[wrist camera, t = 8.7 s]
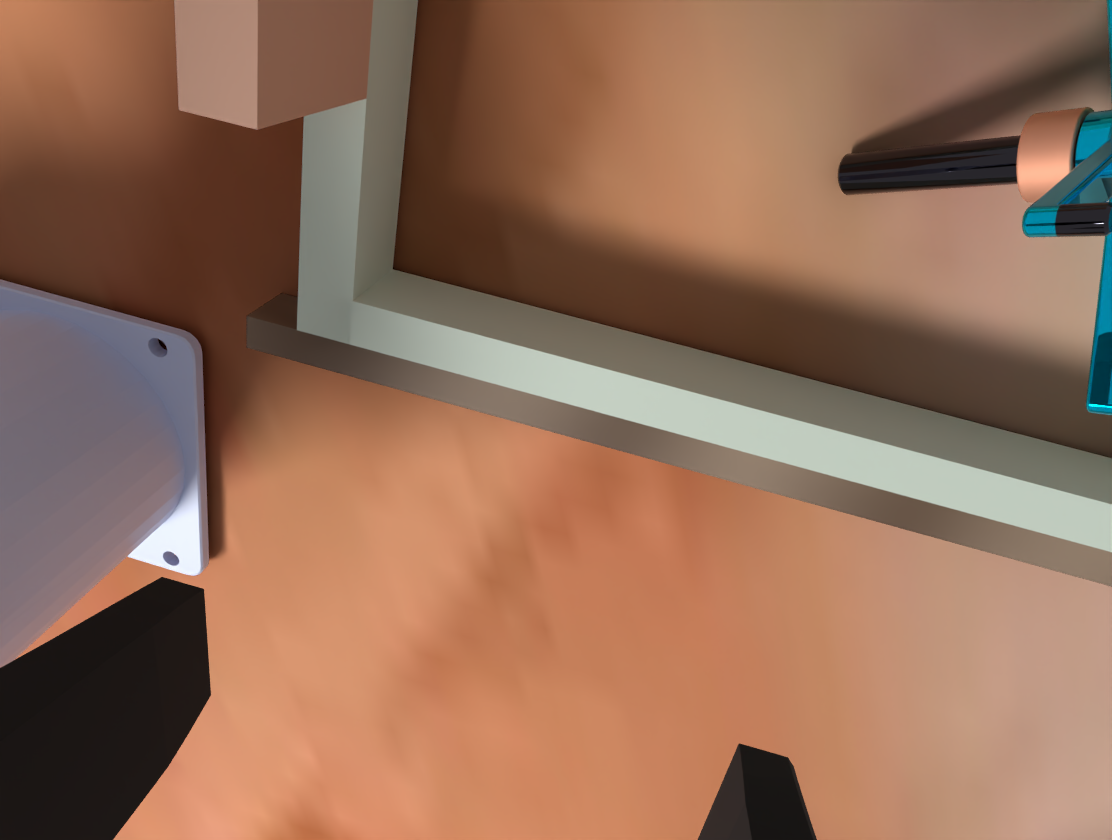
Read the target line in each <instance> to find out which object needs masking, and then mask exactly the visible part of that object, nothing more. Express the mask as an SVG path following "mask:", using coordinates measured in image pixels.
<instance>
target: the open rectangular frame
mask: <svg viewBox="0 0 1112 840" xmlns="http://www.w3.org/2000/svg"><path fill="white" fill-rule="evenodd" d="M417 6H418V0H174V9H175V33H176V57H177V81H178V105H179V110H180V111H184V112H188V113H192V114H196V115H200V116H204V117H208V118H212V119H216V120H220V121H224V122H228V123H232V124H236V125H240V126H244V127H248V128H252V129H256V130H258V129H262V128H265V127H269V126H272V125H276V124H279V123H283V122H286V121H290V120H293V119H297V118H300V117H304V124H303V155H302V186H301V216H300V247H299V278H298V308H297V330H299V331H302V332H306V333H310V334H313V335H317V336H321V337H324V338H328V339H332V340H335V341H339V342H343V343H346V344H350V345H354V346H357V347H361V348H365V349H368V350H372V351H376V352H379V353H383V354H387V355H390V356H394V357H398V358H401V359H405V360H409V361H412V362H416V363H420V364H423V365H427V366H431V367H434V368H438V369H442V370H445V371H449V372H453V373H456V374H460V375H464V376H467V377H471V378H475V379H478V380H482V381H486V382H489V383H493V384H497V385H500V386H504V387H508V388H511V389H515V390H519V391H522V392H526V393H530V394H533V395H537V396H541V397H544V398H548V399H552V400H555V401H559V402H563V403H566V404H570V405H574V406H577V407H581V408H585V409H588V410H592V411H596V412H599V413H603V414H607V415H610V416H614V417H618V418H621V419H625V420H629V421H632V422H636V423H640V424H643V425H647V426H651V427H654V428H658V429H662V430H665V431H669V432H673V433H676V434H680V435H684V436H687V437H691V438H695V439H698V440H702V441H706V442H709V443H713V444H717V445H720V446H724V447H728V448H731V449H735V450H739V451H742V452H746V453H750V454H753V455H757V456H761V457H764V458H768V459H772V460H775V461H779V462H783V463H786V464H790V465H794V466H797V467H801V468H805V469H808V470H812V471H816V472H819V473H823V474H827V475H830V476H834V477H838V478H841V479H845V480H849V481H852V482H856V483H860V484H863V485H867V486H871V487H874V488H878V489H882V490H885V491H889V492H893V493H896V494H900V495H904V496H907V497H911V498H915V499H918V500H922V501H926V502H929V503H933V504H937V505H940V506H944V507H948V508H951V509H955V510H959V511H962V512H966V513H970V514H973V515H977V516H981V517H984V518H988V519H992V520H995V521H999V522H1003V523H1006V524H1010V525H1014V526H1017V527H1021V528H1025V529H1028V530H1032V531H1036V532H1039V533H1043V534H1047V535H1050V536H1054V537H1058V538H1061V539H1065V540H1069V541H1072V542H1076V543H1080V544H1083V545H1087V546H1091V547H1094V548H1098V549H1102V550H1105V551H1109V552H1112V458H1108V457H1105V456H1101V455H1097V454H1093V453H1089V452H1086V451H1082V450H1078V449H1074V448H1070V447H1067V446H1063V445H1059V444H1055V443H1051V442H1048V441H1044V440H1040V439H1036V438H1032V437H1029V436H1025V435H1021V434H1017V433H1013V432H1010V431H1006V430H1002V429H998V428H994V427H991V426H987V425H983V424H979V423H975V422H972V421H968V420H964V419H960V418H956V417H953V416H949V415H945V414H941V413H937V412H934V411H930V410H926V409H922V408H918V407H915V406H911V405H907V404H903V403H899V402H896V401H892V400H888V399H884V398H880V397H877V396H873V395H869V394H865V393H861V392H858V391H854V390H850V389H846V388H842V387H839V386H835V385H831V384H827V383H823V382H820V381H816V380H812V379H808V378H804V377H801V376H797V375H793V374H789V373H785V372H782V371H778V370H774V369H770V368H766V367H763V366H759V365H755V364H751V363H747V362H744V361H740V360H736V359H732V358H728V357H725V356H721V355H717V354H713V353H709V352H706V351H702V350H698V349H694V348H690V347H687V346H683V345H679V344H675V343H671V342H668V341H664V340H660V339H656V338H652V337H649V336H645V335H641V334H637V333H633V332H630V331H626V330H622V329H618V328H614V327H610V326H607V325H603V324H599V323H595V322H591V321H588V320H584V319H580V318H576V317H572V316H569V315H565V314H561V313H557V312H553V311H550V310H546V309H542V308H538V307H534V306H531V305H527V304H523V303H519V302H515V301H512V300H508V299H504V298H500V297H496V296H493V295H489V294H485V293H481V292H477V291H474V290H470V289H466V288H462V287H458V286H455V285H451V284H447V283H443V282H439V281H436V280H432V279H428V278H424V277H420V276H417V275H413V274H409V273H405V272H401V271H398V270H394V269H393V261H394V250H395V240H396V229H397V219H398V208H399V197H400V187H401V176H402V166H403V155H404V144H405V134H406V123H407V113H408V102H409V91H410V81H411V70H412V60H413V49H414V38H415V28H416V17H417Z"/></svg>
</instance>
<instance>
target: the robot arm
mask: <svg viewBox="0 0 1112 840" xmlns="http://www.w3.org/2000/svg"><path fill="white" fill-rule="evenodd" d="M158 339H159V340H161V341H163V343H164V344H165V345H166V347H167V350H165V349H163V348H162V347H161V345H160V344H159V341H158ZM126 557H130V558H134V559H137V560H140V561H144V562H147V563H150V564H153V565H157V566H160V567H163V568H167V569H170V570H173V571H176V572H180V573H183V574H186V575H192V576H195V575H199V574H200V573H201V572H202V571H203V570H204V569H205V568H206V567H207V566H208V563H209V544H208V513H207V482H206V452H205V421H204V390H203V359H202V349H201V345H200V344H199V342H198V340H197V339H196V338H195V337H194V336H193V335H192V334H191V333H189V332H187V331H185V330H182V329H178V328H175V327H171V326H167V325H164V324H160V323H156V322H153V321H149V320H146V319H142V318H138V317H135V316H131V315H128V314H124V313H120V312H117V311H113V310H109V309H106V308H102V307H99V306H95V305H91V304H88V303H84V302H80V301H77V300H73V299H70V298H66V297H62V296H59V295H55V294H52V293H48V292H44V291H41V290H37V289H33V288H30V287H26V286H23V285H19V284H15V283H12V282H8V281H4V280H1V279H0V840H113V839H114V837H115V836H116V835H117V834H118V832H119V831H120V830H121V828H122V827H123V826H124V824H125V823H126V822H127V821H128V819H129V818H130V817H131V815H132V814H133V813H134V811H135V810H136V809H137V807H138V806H139V805H140V803H141V802H142V801H143V799H144V798H145V797H146V795H147V794H148V793H149V791H150V790H151V789H152V788H153V786H154V785H155V784H156V782H157V781H158V779H159V778H160V777H161V775H162V774H163V773H164V771H165V770H166V769H167V767H168V766H169V764H170V763H171V761H172V759H173V758H174V756H175V755H176V753H177V751H178V750H179V748H180V746H181V745H182V743H183V742H184V740H185V738H186V737H187V735H188V734H189V732H190V730H191V728H192V727H193V725H194V723H195V721H196V720H197V718H198V716H199V715H200V713H201V711H202V709H203V708H204V706H205V704H206V703H207V701H208V699H209V697H210V696H211V690H210V674H209V659H208V644H207V629H206V613H205V598H204V589H202V588H198V587H195V586H191V585H188V584H185V583H181V582H178V581H174V580H171V579H167V578H164V577H161V578H159V579H158V580H156V581H154V582H152V583H150V584H148V585H147V586H145V587H143V588H141V589H140V590H138V591H136V592H134V593H132V594H131V595H129V596H127V597H125V598H124V599H122V600H120V601H118V602H117V603H115V604H113V605H111V606H109V607H108V608H106V609H104V610H102V611H101V612H99V613H97V614H95V615H94V616H92V617H90V618H88V619H87V620H85V621H83V622H81V623H80V624H78V625H76V626H74V627H73V628H71V629H69V630H67V631H66V632H64V633H62V634H60V635H59V636H57V637H55V638H53V639H52V640H50V641H48V642H46V643H45V644H43V645H41V646H39V647H37V648H36V649H34V650H32V651H30V652H28V653H26V654H25V655H23V656H21V657H19V658H17V657H18V656H19V655H20V654H21V653H22V652H23V651H24V650H26V649H27V648H28V647H29V646H30V645H31V644H32V643H33V642H34V641H35V640H36V639H38V638H39V637H40V636H41V635H42V634H43V633H44V632H45V631H46V630H47V629H48V628H50V627H51V626H52V625H53V624H54V623H55V622H56V621H57V620H58V619H59V618H60V617H62V616H63V615H64V614H65V613H66V612H67V611H68V610H69V609H70V608H71V607H72V606H74V605H75V604H76V603H77V602H78V601H79V600H80V599H81V598H82V597H83V596H84V595H86V594H87V593H88V592H89V591H90V590H91V589H92V588H93V587H94V586H95V585H96V584H98V583H99V582H100V581H101V580H102V579H103V578H104V577H105V576H106V575H107V574H108V573H110V572H111V571H112V570H113V569H114V568H115V567H116V566H117V565H118V564H119V563H120V562H122V561H123V560H124V559H125V558H126ZM16 658H17V659H16ZM15 659H16V660H15ZM698 840H817V839H816V836H815V833H814V830H813V827H812V824H811V821H810V818H809V815H808V812H807V809H806V806H805V802H804V799H803V796H802V793H801V790H800V786H799V783H798V780H797V776H796V773H795V770H794V766H793V765H792V763H791V762H790V760H789V758H788V757H784V756H781V755H777V754H774V753H770V752H767V751H764V750H760V749H757V748H753V747H750V746H746V745H743V744H739V745H738V747H737V749H736V752H735V754H734V756H733V759H732V761H731V763H730V766H729V768H728V770H727V773H726V775H725V777H724V780H723V782H722V784H721V787H720V789H719V791H718V794H717V796H716V798H715V801H714V803H713V805H712V808H711V810H710V812H709V815H708V817H707V819H706V822H705V824H704V826H703V829H702V831H701V833H700V836H699V838H698Z"/></svg>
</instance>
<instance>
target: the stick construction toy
mask: <svg viewBox="0 0 1112 840" xmlns="http://www.w3.org/2000/svg"><path fill="white" fill-rule="evenodd" d="M1107 17H1108V38H1109V59H1110V80H1111V101H1112V0H1107ZM838 183H839V186H840V188H841V190H842V192H843V193H844V194H846V195H858V194H873V193H888V192H903V191H918V190H933V189H948V188H963V187H978V186H993V185H1009V184H1018V188H1019V191H1020V194H1021V196H1022V198H1023V199H1024V200H1025V201H1027V202H1034V203H1033V204H1032V205H1031V206H1030V207H1029V208H1028V209H1027V210H1026V211H1025V213H1024V216H1023V220H1022V229H1023V233H1024V234H1025V235H1026V236H1027V237H1073V236H1105V241H1104V249H1103V258H1102V267H1101V276H1100V284H1099V293H1098V302H1097V311H1096V320H1095V328H1094V337H1093V346H1092V355H1091V363H1090V372H1089V381H1088V390H1087V398H1086V409H1087V411H1088V412H1090V413H1096V414H1105V415H1112V110H1105V111H1097V112H1094V110H1093V109H1091V108H1089V107H1085V108H1077V109H1068V110H1060V111H1052V112H1044V113H1036V114H1034V115H1032V116H1031V117H1030V118H1029V119H1028V120H1027V122H1026V124H1025V126H1024V128H1023V130H1022V133H1021V135H1019V136H1010V137H1001V138H991V139H982V140H973V141H963V142H954V143H944V144H935V145H926V146H916V147H907V148H897V149H888V150H879V151H869V152H860V153H851V154H847V155H845V156H844V157H843V159H842V160H841V162H840V165H839V168H838ZM1108 200H1109V202H1107V201H1108Z"/></svg>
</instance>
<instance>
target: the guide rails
mask: <svg viewBox="0 0 1112 840" xmlns="http://www.w3.org/2000/svg"><path fill="white" fill-rule="evenodd" d="M297 308H298V297H295V296H291V295H287V294H284V293H281V294H279V295H278V296H276V297H275V298H273V299H272V300H270V301H269V302H267V303H266V304H264V305H263V306H261V307H260V308H258V309H257V310H255V311H253V312H252V313H250V314H249V315H247V348H250V349H254V350H257V351H261V352H265V353H268V354H272V355H275V356H279V357H283V358H286V359H290V360H294V361H297V362H301V363H304V364H308V365H312V366H315V367H319V368H322V369H326V370H330V371H333V372H337V373H341V374H344V375H348V376H351V377H355V378H359V379H362V380H366V381H370V382H373V383H377V384H380V385H384V386H388V387H391V388H395V389H399V390H402V391H406V392H409V393H413V394H417V395H420V396H424V397H427V398H431V399H435V400H438V401H442V402H446V403H449V404H453V405H456V406H460V407H464V408H467V409H471V410H475V411H478V412H482V413H485V414H489V415H493V416H496V417H500V418H503V419H507V420H511V421H514V422H518V423H522V424H525V425H529V426H532V427H536V428H540V429H543V430H547V431H551V432H554V433H558V434H561V435H565V436H569V437H572V438H576V439H580V440H583V441H587V442H590V443H594V444H598V445H601V446H605V447H608V448H612V449H616V450H619V451H623V452H627V453H630V454H634V455H637V456H641V457H645V458H648V459H652V460H656V461H659V462H663V463H666V464H670V465H674V466H677V467H681V468H684V469H688V470H692V471H695V472H699V473H703V474H706V475H710V476H713V477H717V478H721V479H724V480H728V481H732V482H735V483H739V484H742V485H746V486H750V487H753V488H757V489H761V490H764V491H768V492H771V493H775V494H779V495H782V496H786V497H789V498H793V499H797V500H800V501H804V502H808V503H811V504H815V505H818V506H822V507H826V508H829V509H833V510H837V511H840V512H844V513H847V514H851V515H855V516H858V517H862V518H866V519H869V520H873V521H876V522H880V523H884V524H887V525H891V526H894V527H898V528H902V529H905V530H909V531H913V532H916V533H920V534H923V535H927V536H931V537H934V538H938V539H942V540H945V541H949V542H952V543H956V544H960V545H963V546H967V547H970V548H974V549H978V550H981V551H985V552H989V553H992V554H996V555H999V556H1003V557H1007V558H1010V559H1014V560H1018V561H1021V562H1025V563H1028V564H1032V565H1036V566H1039V567H1043V568H1047V569H1050V570H1054V571H1057V572H1061V573H1065V574H1068V575H1072V576H1075V577H1079V578H1083V579H1086V580H1090V581H1094V582H1097V583H1101V584H1104V585H1108V586H1112V552H1109V551H1105V550H1102V549H1098V548H1094V547H1091V546H1087V545H1083V544H1080V543H1076V542H1072V541H1069V540H1065V539H1061V538H1058V537H1054V536H1050V535H1047V534H1043V533H1039V532H1036V531H1032V530H1028V529H1025V528H1021V527H1017V526H1014V525H1010V524H1006V523H1003V522H999V521H995V520H992V519H988V518H984V517H981V516H977V515H973V514H970V513H966V512H962V511H959V510H955V509H951V508H948V507H944V506H940V505H937V504H933V503H929V502H926V501H922V500H918V499H915V498H911V497H907V496H904V495H900V494H896V493H893V492H889V491H885V490H882V489H878V488H874V487H871V486H867V485H863V484H860V483H856V482H852V481H849V480H845V479H841V478H838V477H834V476H830V475H827V474H823V473H819V472H816V471H812V470H808V469H805V468H801V467H797V466H794V465H790V464H786V463H783V462H779V461H775V460H772V459H768V458H764V457H761V456H757V455H753V454H750V453H746V452H742V451H739V450H735V449H731V448H728V447H724V446H720V445H717V444H713V443H709V442H706V441H702V440H698V439H695V438H691V437H687V436H684V435H680V434H676V433H673V432H669V431H665V430H662V429H658V428H654V427H651V426H647V425H643V424H640V423H636V422H632V421H629V420H625V419H621V418H618V417H614V416H610V415H607V414H603V413H599V412H596V411H592V410H588V409H585V408H581V407H577V406H574V405H570V404H566V403H563V402H559V401H555V400H552V399H548V398H544V397H541V396H537V395H533V394H530V393H526V392H522V391H519V390H515V389H511V388H508V387H504V386H500V385H497V384H493V383H489V382H486V381H482V380H478V379H475V378H471V377H467V376H464V375H460V374H456V373H453V372H449V371H445V370H442V369H438V368H434V367H431V366H427V365H423V364H420V363H416V362H412V361H409V360H405V359H401V358H398V357H394V356H390V355H387V354H383V353H379V352H376V351H372V350H368V349H365V348H361V347H357V346H354V345H350V344H346V343H343V342H339V341H335V340H332V339H328V338H324V337H321V336H317V335H313V334H310V333H306V332H302V331H299V330H297Z"/></svg>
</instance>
